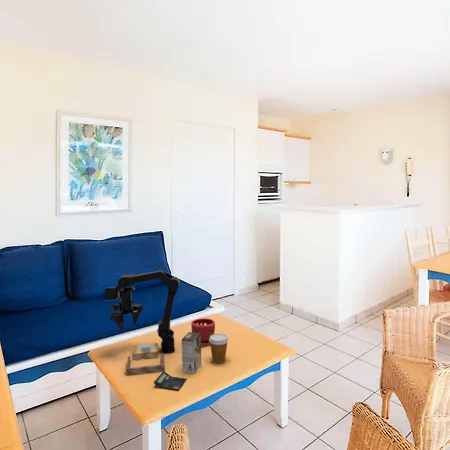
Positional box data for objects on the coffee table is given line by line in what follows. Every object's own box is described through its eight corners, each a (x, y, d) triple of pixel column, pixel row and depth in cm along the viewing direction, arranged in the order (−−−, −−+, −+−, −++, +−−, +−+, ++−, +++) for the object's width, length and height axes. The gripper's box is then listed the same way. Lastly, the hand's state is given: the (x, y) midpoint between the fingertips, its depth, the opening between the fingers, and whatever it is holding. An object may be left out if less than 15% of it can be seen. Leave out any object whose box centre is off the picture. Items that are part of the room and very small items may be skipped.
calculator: (178, 391, 149) (178, 385, 149) (153, 388, 152) (153, 381, 152) (186, 380, 158) (186, 374, 158) (163, 377, 161) (162, 370, 161)
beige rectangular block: (157, 350, 189) (157, 342, 189) (158, 358, 179) (158, 351, 179) (134, 352, 187) (134, 345, 186) (134, 361, 177) (133, 353, 176)
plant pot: (219, 343, 196) (219, 322, 194) (199, 349, 188) (198, 327, 187) (207, 335, 206) (207, 315, 205) (187, 341, 199) (187, 320, 198)
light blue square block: (149, 347, 183) (149, 343, 183) (149, 350, 179) (149, 347, 179) (141, 348, 182) (141, 344, 182) (141, 351, 179) (141, 347, 178)
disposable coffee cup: (230, 357, 179) (230, 334, 178) (224, 366, 170) (224, 342, 169) (213, 354, 182) (213, 332, 181) (206, 363, 173) (206, 339, 172)
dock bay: (163, 358, 178) (163, 353, 178) (164, 371, 166) (164, 365, 165) (128, 362, 175) (127, 356, 174) (126, 375, 162) (126, 369, 162)
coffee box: (189, 363, 174) (188, 331, 172) (201, 364, 172) (201, 332, 170) (181, 372, 165) (181, 339, 163) (194, 374, 163) (194, 340, 162)
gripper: (127, 292, 196) (129, 320, 197) (101, 302, 180) (103, 332, 181) (142, 295, 190) (144, 323, 192) (116, 305, 174) (118, 335, 176)
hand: (128, 328), depth 185 cm, fingers open, 9 cm apart
